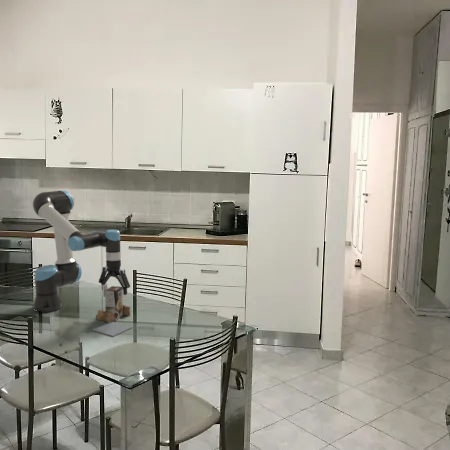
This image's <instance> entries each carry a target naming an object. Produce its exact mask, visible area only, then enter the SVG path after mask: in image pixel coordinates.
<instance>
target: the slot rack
mask: <svg viewBox="0 0 450 450" xmlns="http://www.w3.org/2000/svg"><path fill="white" fill-rule="evenodd" d="M123 316H126V317H127V316H128V317H129V316H131V306H129V305H126V304H123ZM96 318H97V320H99V319H100V321H102V320H103V322H107V323H109V322H115V320H114V319H113V313H110V312H106V310H102V309H98V310H97V314H96V315H95V319H96Z"/></svg>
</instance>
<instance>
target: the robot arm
mask: <svg viewBox="0 0 450 450" xmlns="http://www.w3.org/2000/svg"><path fill="white" fill-rule="evenodd" d="M32 207H33V211H34V213H35V214H36V215H37V216H38V218H41V219H43V220H45V221H46V222H47V223H48V224H49V225H51V227H52V228H53V234H54V242H55V250H56V259H57V260H56V261H55V262H54V264H48V265H42V266H40V267H37V268H36V270H35V272H34V283H35V284H34V286H35V288H34V289H35V298H34V302H33V304H32V310H33V309H35V310H37V311H41V312H40V313H50V311H52V312H55V310H56V311H58V310H61V308H62V307H63V306H62V305H63V303H62V301H61V298H60V296H59V292H58V290H59V289H58V288H60V287H64V286H65V287H66V286H68V285H74V284H75V283H78V282H79V281H80V279H81V277H82V273H83V272H82V271H83V270H82V268H81V267H82V266H81V265H80V263H78V262H77V260H76V259H75V258H74V255H73V252H80V251H84V250H88V249H94V248H97V247H102V248H105V258H106V260H105V261H106V262H105V263H106V264H105V265H106V266H103V267H102V270H101V274H100V277H99V278H98V283H99V284H101V291H102V297H104V298H105V291H106V290H107V289H108V284H107V282H108V281H109V280H110V278H112V277H113V278H115V279H116V280H117V281H118V283H119V285H120V287H122V288H123V289H122V301H123V302H124V301H127V295H128V289H129V288H131V284H130V282H129V279H128V277H127V275H126V270H125V269H121V266H122V263H121V262H122V261H121V260H122V259H121V258H122V257H121V256H122V255H121V254H122V253H121V232H120V231H119V230H118V229H107V230H105V231H104V232H102V231H99V230H98V231H91V232H90V233H87V234H83V233H82V232H81V231H80V230H79V229H77V227H75V226H74V225H73V224H72V223H71V222H70V220H69V216H70V215H71V214H72V212H71V210H73V209H74V207H75V201H74V198H73V196H72V194H71V193H70V192H69V191H67V190H53V191H43V192H40V193H38V194H36V196H35V197H34V199H33V201H32ZM37 311H36V312H37Z"/></svg>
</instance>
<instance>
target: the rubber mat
mask: <svg viewBox="0 0 450 450" xmlns="http://www.w3.org/2000/svg"><path fill="white" fill-rule="evenodd" d="M133 328H134V327H133V326H131V325H126V324H124V323H120V322H116V321H114V322H107V323H105V324H103V325H100V326H98V327H95V328H94V329H92V330H93V331H92V332H95V331H96V332H95V333H99V334H103V335H105V336H109V337H112V338H113V337H114V338H115V337H116V336H118V335H121V334H123V333H124V332H127V331H129V330H132V329H133Z"/></svg>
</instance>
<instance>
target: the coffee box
mask: <svg viewBox="0 0 450 450" xmlns="http://www.w3.org/2000/svg"><path fill="white" fill-rule="evenodd" d="M122 289H123V288H122V286H118V285H117V286H114V285H112V286H110V287H109V288H107V290H106V291H105V297H104V298H105V301H104V302H105V304H104V305H105V306H104V307H105V311H106V312H110V313H113V319H114V322H116V321H117V320H119V319H121V317H122V316H124V314H123V305H124V301H122Z"/></svg>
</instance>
